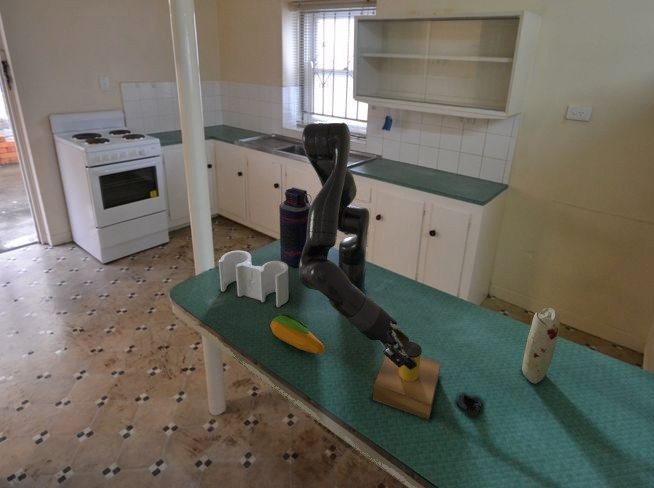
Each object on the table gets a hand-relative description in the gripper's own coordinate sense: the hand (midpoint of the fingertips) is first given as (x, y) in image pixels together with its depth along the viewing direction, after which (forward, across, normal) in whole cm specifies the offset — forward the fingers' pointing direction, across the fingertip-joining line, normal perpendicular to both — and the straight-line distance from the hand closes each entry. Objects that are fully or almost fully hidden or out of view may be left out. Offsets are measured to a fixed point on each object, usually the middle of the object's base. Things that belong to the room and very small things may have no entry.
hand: (409, 353), depth 101 cm
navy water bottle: (-14, +65, +30) cm, 73 cm away
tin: (+5, 0, +4) cm, 6 cm away
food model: (+34, +4, -17) cm, 38 cm away
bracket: (-23, +42, +40) cm, 63 cm away
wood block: (+8, 0, +8) cm, 11 cm away
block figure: (+19, -5, -2) cm, 20 cm away
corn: (-12, +16, +28) cm, 35 cm away
